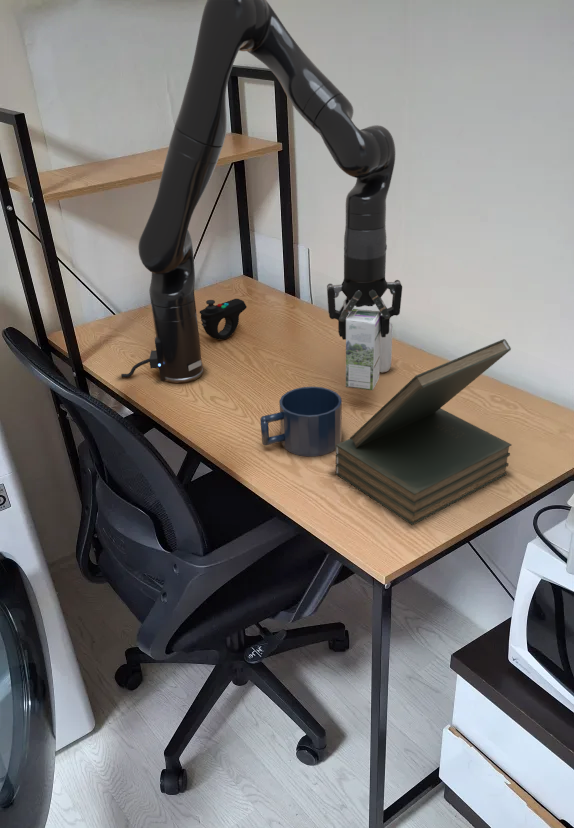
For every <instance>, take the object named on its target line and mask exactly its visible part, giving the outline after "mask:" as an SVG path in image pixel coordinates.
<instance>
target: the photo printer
mask: <svg viewBox="0 0 574 828" xmlns="http://www.w3.org/2000/svg"><path fill="white" fill-rule="evenodd" d="M361 309H362V310H369V309H368V308H361ZM392 353H393V323H392V322H391V321H390V323H389V333H388V334H386V337H380V363H379V373H380V374H381V373H387V372H389V371H390V370H391V367H392V357H393V356H392V355H393V354H392Z"/></svg>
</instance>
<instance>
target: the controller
mask: <svg viewBox="0 0 574 828" xmlns="http://www.w3.org/2000/svg"><path fill="white" fill-rule="evenodd" d="M205 303H206V305H207V306H206V307H205V308H203V309H201V310H199V315H200V322H201V327H203V330H204V332H205V333H206V335H208V336H209V337H210V338H212V339H214V340H217V341H224V340H227V339H228V338H230V337H231V336H233V334H235V332H236V330H237V328H238V326H239V323H240V315H241V314H242V313H243V312H244V311H245V310H246V309H247V305H246V303H245V301H244V299H243V300H242V299H240V298H233V299H230V300H227V301H225V302H222V303H217V304H216V301H215V300H214V299H208V300H206V301H205ZM215 304H216V305H215ZM222 320H224V326H223V328H222V329H221V330H220V331H219V325H220V322H221V321H222Z"/></svg>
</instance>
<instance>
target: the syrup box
mask: <svg viewBox="0 0 574 828" xmlns="http://www.w3.org/2000/svg"><path fill="white" fill-rule="evenodd" d="M362 309H363V308H361V309H359V308H353V309H352V311H351V312H350V313H349V314H348V316H347V318H346V340H345V388H350V389H357V390H365V391H374V389H375V387H376V385H377V383H378V382H379V379H380V372H379V363H380V337H381V315H382V314H381V312H380V311H379V310H373V309H368V310H362Z"/></svg>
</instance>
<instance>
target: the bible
mask: <svg viewBox="0 0 574 828" xmlns="http://www.w3.org/2000/svg"><path fill="white" fill-rule="evenodd" d="M511 350H512V347H511V346H510V344H509V343H508V341H507V339H505V338H503V339H499V340H498V341H496V342H495V341H494V343H490V344H489V345H486V346H484V347H481V348H479V349H476V350H474V351H472V352H469V353H466V354H464V355H462V356H459V357H457V358H455V359H452V360H450V361H447V362H445V363H442V364H440V365H438V366H435V367H433V368H431V369H428V370H426V371H424V372H421V373H418V374H416V375H414V377H412V379H411V380H409V382H407V383H406V384H405V385H404V386H403V387H402V388H401V389H400V390H399V391H398V392H397V393H396V394H395V395H393V396H392V398H390V399H389V400H388V401H387V402H386V403H385V404H384V405H383V406H382V407H381V408H379V410H378V411H377V412H376V413H375V414H374V415H373V416H371V417H370V418H369V419H368V420H367V421H366V422H364V424H363V425H362V426H361V427H360V428H359V429H357V430H356V431H355V432H354V433H353V434H352V436H350V437H349V439H346V440H344V441H341V443H339V444H337V445H336V450H335V475H336V476H338V477H339V478H341V479H343V480H344V481H345V482H347V483H348V484H350V485H352V486H353V487H354V488H356V489H357V490H359V491H361V492H362V493H364V494H365V495H367V496H368V497H369V498H371V499H372V500H374V501H375V502H377V503H378V504H380V505H381V506H383V507H384V508H386V509H388V510H389V511H391V512H392V513H393V514H395V515H396V516H398V517H399V518H401V519H402V520H404V521H405V522H407V523H408V524H410V525H411V526H413V525H416V524H418V523H419V522H421V521H423V520H425V519H427V518H429V517H431V516H433V515H434V514H436V513H438V512H440V511H442V510H444V509H446V508H448V507H449V506H451V505H453V504H455V503H456V502H459V501H461V500H462V499H464V498H466V497H468V496H470V495H472V494H473V493H475V492H477V491H480V490H481V489H483V488H484V487H487V486H489V485H490V484H493V483H494V482H496V481H498V480H500V479H501V478H503V477H506V476H507V475H508V473H507V472H506V470H507V467H509V465H510V464H509V463H508V457H510V456H511V453H510V452H509V450H510V447H511V446H512V445H513V444H512V443H510V442H508V441H506V440H504V439H502V438H500V437H498V436H496V435H494V434H492V433H490V432H489V431H486V430H485V429H482V428H480V427H479V426H476V425H475V424H473V423H470V422H468V421H466V420H465V419H463V418H461V417H458V416H457V415H455V414H452V413H451V412H449V411H447V410H445V409H443V408H442V407H444V406H445V405H446V404H448V402H449V401H451V400H453V398H455V397H456V396H457V395H458V394H459V393H461V392H462V391H463V390H465V388H467V387H468V386H469V385H470V384H472V383H473V382H474V381H475V380H476V379H477V378H479V377H480V376H481V375H483V374H484V373H485V372H486V371H487V370H489V369H490V368H491V367H492V366H493V365H494V364H496V363H497V362H499V360H501V358H503V357H504V356H505V355H506V354H507V353H509V352H510V351H511Z"/></svg>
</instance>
